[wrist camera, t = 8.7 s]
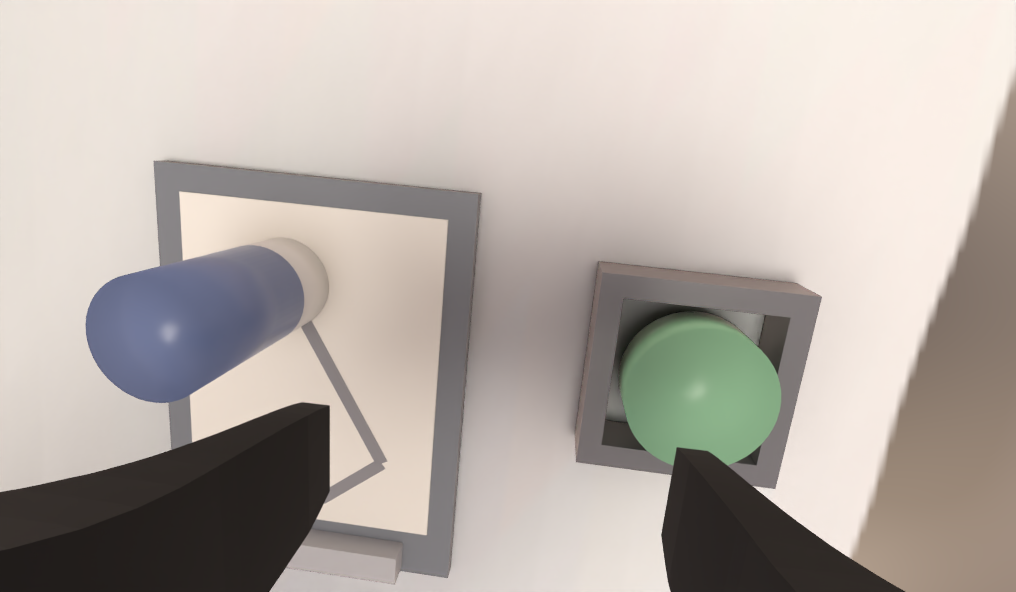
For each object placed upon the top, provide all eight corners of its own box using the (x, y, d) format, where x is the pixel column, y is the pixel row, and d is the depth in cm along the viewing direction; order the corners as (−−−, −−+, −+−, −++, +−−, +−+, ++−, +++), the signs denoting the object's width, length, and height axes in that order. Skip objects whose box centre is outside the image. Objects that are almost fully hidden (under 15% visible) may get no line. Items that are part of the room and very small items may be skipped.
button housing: (756, 459, 21) (775, 488, 19) (574, 435, 22) (576, 461, 20) (796, 283, 20) (821, 296, 18) (598, 261, 20) (602, 272, 18)
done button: (743, 447, 20) (763, 479, 18) (609, 430, 20) (614, 459, 18) (772, 320, 19) (796, 338, 17) (629, 303, 19) (636, 320, 17)
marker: (329, 330, 21) (216, 409, 14) (243, 322, 21) (93, 395, 15) (328, 241, 20) (209, 279, 13) (239, 233, 20) (78, 267, 14)
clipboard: (450, 567, 24) (442, 596, 22) (186, 528, 25) (160, 552, 23) (481, 193, 20) (474, 196, 18) (164, 160, 21) (132, 160, 19)
